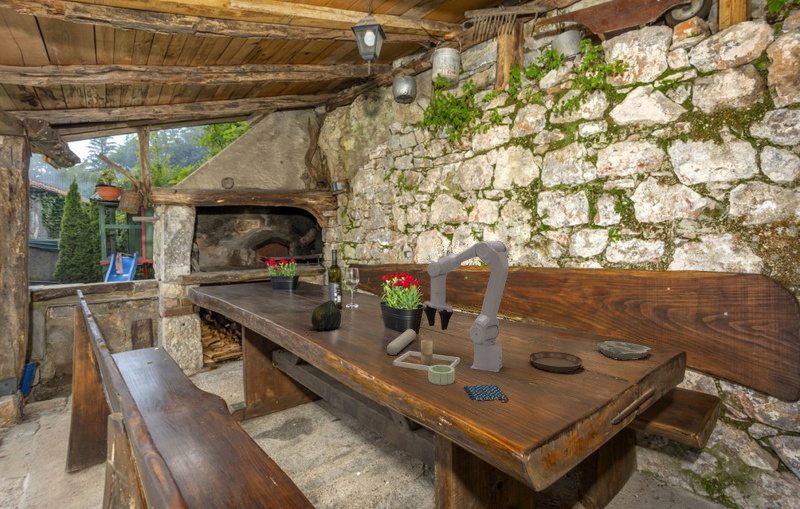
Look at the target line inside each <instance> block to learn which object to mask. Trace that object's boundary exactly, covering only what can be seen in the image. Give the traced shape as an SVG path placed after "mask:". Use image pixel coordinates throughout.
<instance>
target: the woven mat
mask: <svg viewBox="0 0 800 509" xmlns="http://www.w3.org/2000/svg"><path fill="white" fill-rule="evenodd" d="M463 390H465V392H466V394H467V395H468V396H469V399H470V400H471V401H473V402H481V401H482V402H484V401H494V402H495V401H500V402H501V403H504V404H505V403H509V401H510V399H509V397H507V394H505V392H503V391H502V389H501V388H499V386H498V385H497V384H480V385H479V384H476V385H475V384H474V385H473V384H472V385H470V384H469V385H465V386H463Z"/></svg>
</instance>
